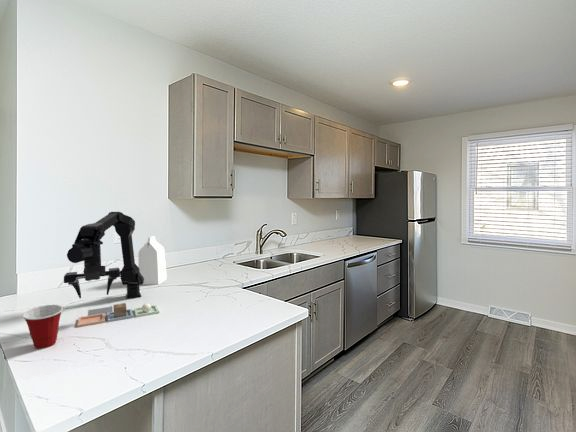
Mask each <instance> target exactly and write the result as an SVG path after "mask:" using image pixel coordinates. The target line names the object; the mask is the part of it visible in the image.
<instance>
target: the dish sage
mask: <svg viewBox="0 0 576 432" xmlns="http://www.w3.org/2000/svg"><path fill="white" fill-rule="evenodd" d="M150 306H151V309H150V310H149V311H148V312H144V311H143V310H142V306H141V307H134V308H133V311H134V315H135V318H141V317H146V316H150V315H157V314H160V310H159V308H158V306H157V304H154V305H150Z"/></svg>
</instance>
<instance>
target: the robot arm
mask: <svg viewBox="0 0 576 432" xmlns="http://www.w3.org/2000/svg"><path fill="white" fill-rule="evenodd" d="M111 227H114V230H115V232H116V234H117V235H118V236H119V237H120V239H119V240H120V246H121V254H122V261H123V266H122V269H120V268H119V267H112V268H108V270H106V265H102V255H101V253H102V252H101V245H103V244H104V242H103V240H101V239H103V238H104V236H105V235H106V231H107V230H109V229H110V228H111ZM135 227H136V221H135V219H133V217H131V216H129V215H127V214H124V213H123V212H121V211H110V212H108V214H106V215H105V216H102V218H100V219H99V220H97V221H95V222H94V223H93V222H92V223H88V224H85V225H82V226H81V227H80V229H79V230H78V232H77V235H76V237H75V240H74V242H73V244H71V247H70V248H69V250H68V251H67V254H66V257H67V260H68V261H69V262H71V264H72V263H73V264H77V263H80V262H83V273H79V274H78V272H77V271H73V272H71V271H70V272H66V273H65V274H64V275H63V283H64V284H68V285H69V286H72V287H73V288H74V290H75V292H76V294H77V295H78V297H79V299H82V293H81V286H80V280H81V279H84V280H85V281H86V282H89V281H97V280H100V279H101V277H107V286H106V295H107V296H108V295H109V293H110V290H111V288H112V287H111V286H112V284H113V282H114V281H115V280H117V279H118V278H120V281H121V285H122V286H126V294H125V298H126V299H134V298H139V297H140V298H141V297H142V295H141V292H140V286H141V285H144V284H143V282H144V278H143V276H142V275H141V273H140V270H139V268H138V265H137V264H136V261H135V253H134V252H135V250H134V245H133V244H134V243H133V233H134V231H135Z"/></svg>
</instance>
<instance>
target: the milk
mask: <svg viewBox="0 0 576 432" xmlns="http://www.w3.org/2000/svg"><path fill="white" fill-rule="evenodd" d="M165 250H166V249H165V248H164V246H163V245H162V244H160V242H158V241H157V240H156V235H152V236H148V237H147V241H146V243H144V244H143V246H142V247H141V248H140V249H139V251H138V262H137V263H138V265H137V266H138V268H139V270H140V273H141V275H142V276H143V278H144V282H143V284H142V285H160V284H162V283H163V282H164V281H166V280H167V279H168V276H167V265H166V263H167V262H166V254H165V253H166V252H165Z"/></svg>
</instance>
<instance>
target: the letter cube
mask: <svg viewBox="0 0 576 432" xmlns="http://www.w3.org/2000/svg"><path fill="white" fill-rule="evenodd" d="M112 309H113V312H114V318H119V317H125V316H127V313H126V310H127V304H126V302H124V303H123V302H121V303H116V304H113V305H112Z"/></svg>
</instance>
